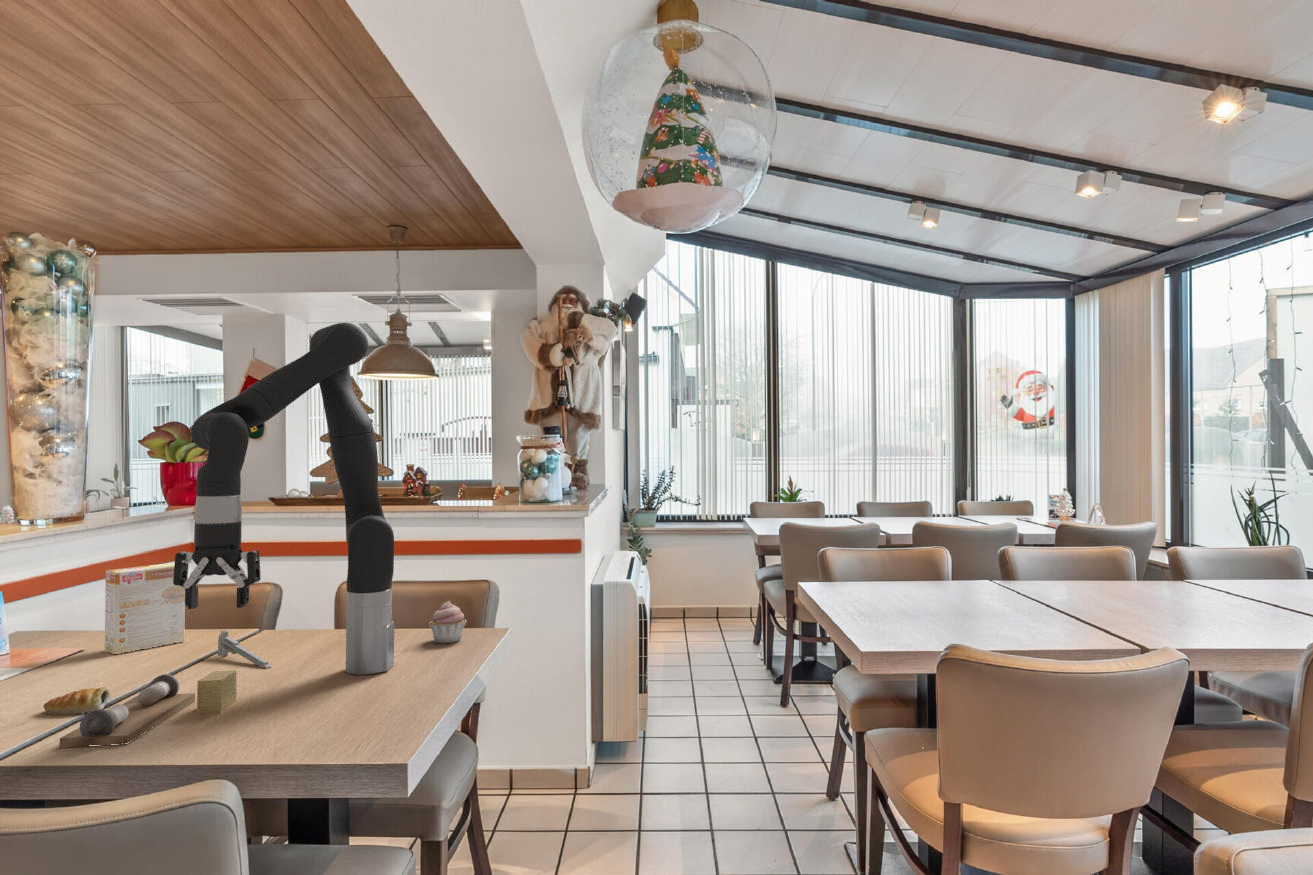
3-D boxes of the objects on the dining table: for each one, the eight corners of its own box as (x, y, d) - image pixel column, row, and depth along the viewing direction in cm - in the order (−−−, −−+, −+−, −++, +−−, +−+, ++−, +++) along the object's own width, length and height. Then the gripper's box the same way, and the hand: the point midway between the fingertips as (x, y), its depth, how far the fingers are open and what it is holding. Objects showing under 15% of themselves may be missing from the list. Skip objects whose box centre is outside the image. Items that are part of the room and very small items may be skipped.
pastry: (36, 719, 128) (36, 697, 128) (53, 707, 134) (53, 686, 135) (99, 713, 131) (100, 692, 131) (113, 701, 138) (114, 681, 138)
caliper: (217, 656, 169) (217, 629, 169) (222, 655, 170) (222, 628, 170) (267, 670, 158) (267, 641, 158) (271, 668, 159) (272, 640, 159)
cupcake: (461, 645, 177) (461, 604, 177) (423, 645, 177) (423, 604, 177) (471, 636, 186) (471, 597, 187) (435, 636, 186) (435, 597, 187)
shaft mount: (194, 701, 137) (195, 672, 137) (127, 744, 116) (127, 710, 116) (138, 703, 136) (138, 674, 136) (59, 747, 115) (60, 713, 115)
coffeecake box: (173, 638, 185) (174, 561, 186) (185, 642, 181) (186, 564, 182) (103, 651, 173) (104, 569, 174) (114, 655, 169) (115, 571, 170)
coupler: (236, 702, 136) (236, 670, 137) (220, 713, 130) (221, 680, 131) (213, 703, 136) (213, 671, 136) (197, 714, 130) (197, 680, 130)
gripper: (267, 518, 139) (266, 602, 138) (188, 518, 138) (187, 604, 137) (249, 521, 131) (247, 611, 131) (166, 522, 130) (164, 612, 130)
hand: (216, 607), depth 134 cm, fingers open, 8 cm apart
